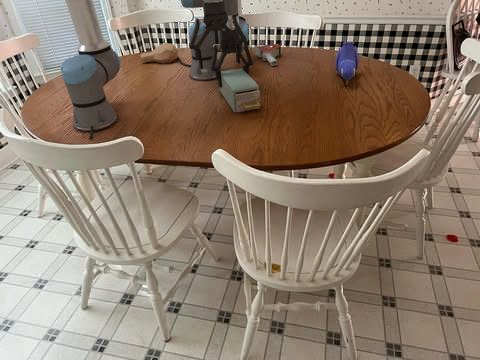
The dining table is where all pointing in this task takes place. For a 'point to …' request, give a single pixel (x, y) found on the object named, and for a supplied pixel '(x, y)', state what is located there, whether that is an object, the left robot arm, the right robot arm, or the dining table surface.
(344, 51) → the toy
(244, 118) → the dining table surface
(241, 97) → the drawer
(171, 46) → the squash
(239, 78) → the cabinet
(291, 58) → the dining table surface
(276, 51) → the tape dispenser
